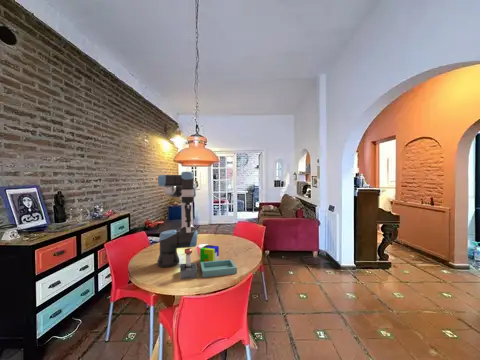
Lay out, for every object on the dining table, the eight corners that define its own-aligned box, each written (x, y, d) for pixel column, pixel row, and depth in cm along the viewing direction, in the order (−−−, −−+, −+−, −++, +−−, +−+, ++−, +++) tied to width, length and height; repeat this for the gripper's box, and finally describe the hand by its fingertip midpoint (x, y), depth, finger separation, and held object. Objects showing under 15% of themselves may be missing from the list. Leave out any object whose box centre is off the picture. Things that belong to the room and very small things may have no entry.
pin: (184, 273, 150) (184, 248, 150) (192, 272, 152) (191, 248, 151) (185, 276, 146) (184, 250, 146) (192, 275, 147) (192, 250, 147)
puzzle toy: (218, 259, 175) (218, 246, 175) (212, 264, 166) (212, 250, 166) (206, 258, 179) (206, 244, 178) (200, 262, 169) (200, 248, 169)
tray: (200, 267, 159) (200, 262, 159) (231, 264, 165) (231, 259, 165) (202, 277, 144) (202, 271, 144) (236, 273, 150) (236, 267, 150)
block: (180, 271, 153) (180, 264, 153) (195, 270, 156) (195, 262, 156) (180, 279, 142) (180, 271, 142) (197, 277, 144) (197, 269, 144)
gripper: (181, 194, 159) (181, 226, 159) (181, 198, 135) (182, 235, 135) (192, 194, 161) (192, 225, 161) (195, 197, 136) (195, 234, 137)
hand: (188, 229), depth 148 cm, fingers open, 13 cm apart
